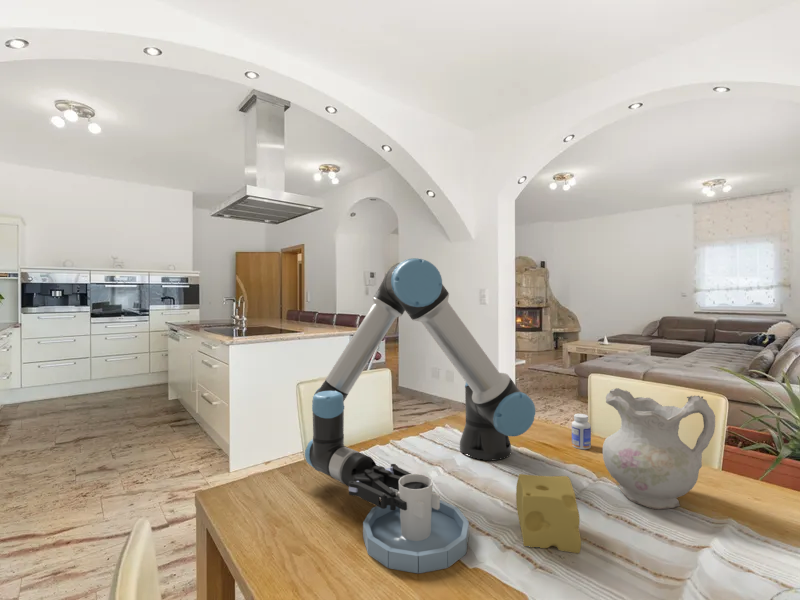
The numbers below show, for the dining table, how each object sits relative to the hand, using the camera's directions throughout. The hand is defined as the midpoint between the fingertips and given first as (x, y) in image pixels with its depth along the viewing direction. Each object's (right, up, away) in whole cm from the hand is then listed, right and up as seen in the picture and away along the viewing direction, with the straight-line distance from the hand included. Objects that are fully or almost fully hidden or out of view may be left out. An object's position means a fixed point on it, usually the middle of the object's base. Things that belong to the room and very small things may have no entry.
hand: (430, 506), depth 77 cm
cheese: (+23, -8, +4) cm, 25 cm away
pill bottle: (+50, -7, +49) cm, 71 cm away
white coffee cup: (-3, -7, +3) cm, 8 cm away
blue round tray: (-3, -7, +3) cm, 8 cm away
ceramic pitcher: (+53, -7, +18) cm, 57 cm away
